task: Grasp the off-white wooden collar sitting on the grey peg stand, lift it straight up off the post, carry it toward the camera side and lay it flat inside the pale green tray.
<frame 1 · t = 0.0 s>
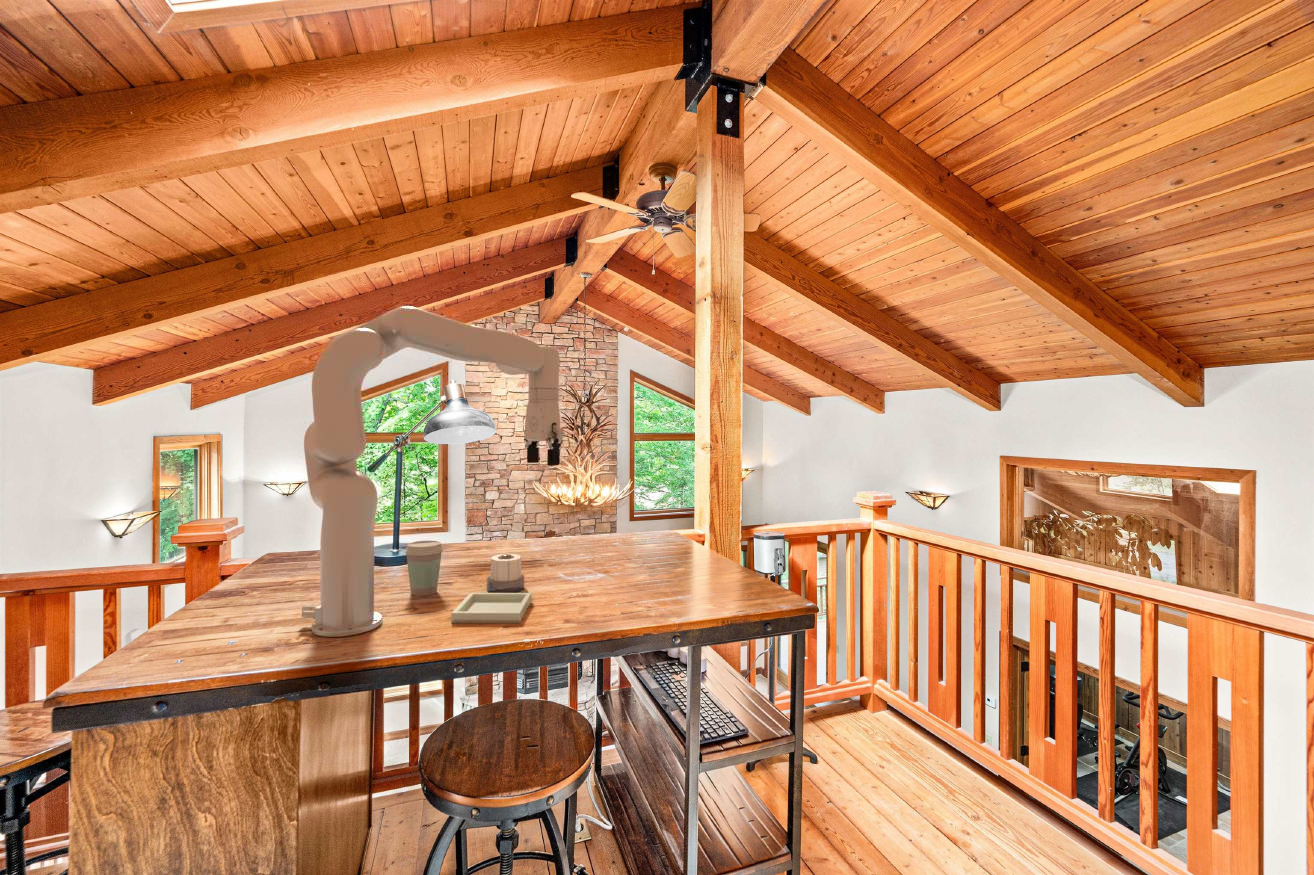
hand: (542, 463, 146), 31 cm above the table, tool pointing down, fingers open, 9 cm apart
grey peg stand: (505, 589, 144), on the table
coffee cup: (423, 593, 140), on the table
collar: (505, 577, 144), point 3 cm above the table, touching grey peg stand
tray: (493, 611, 127), on the table
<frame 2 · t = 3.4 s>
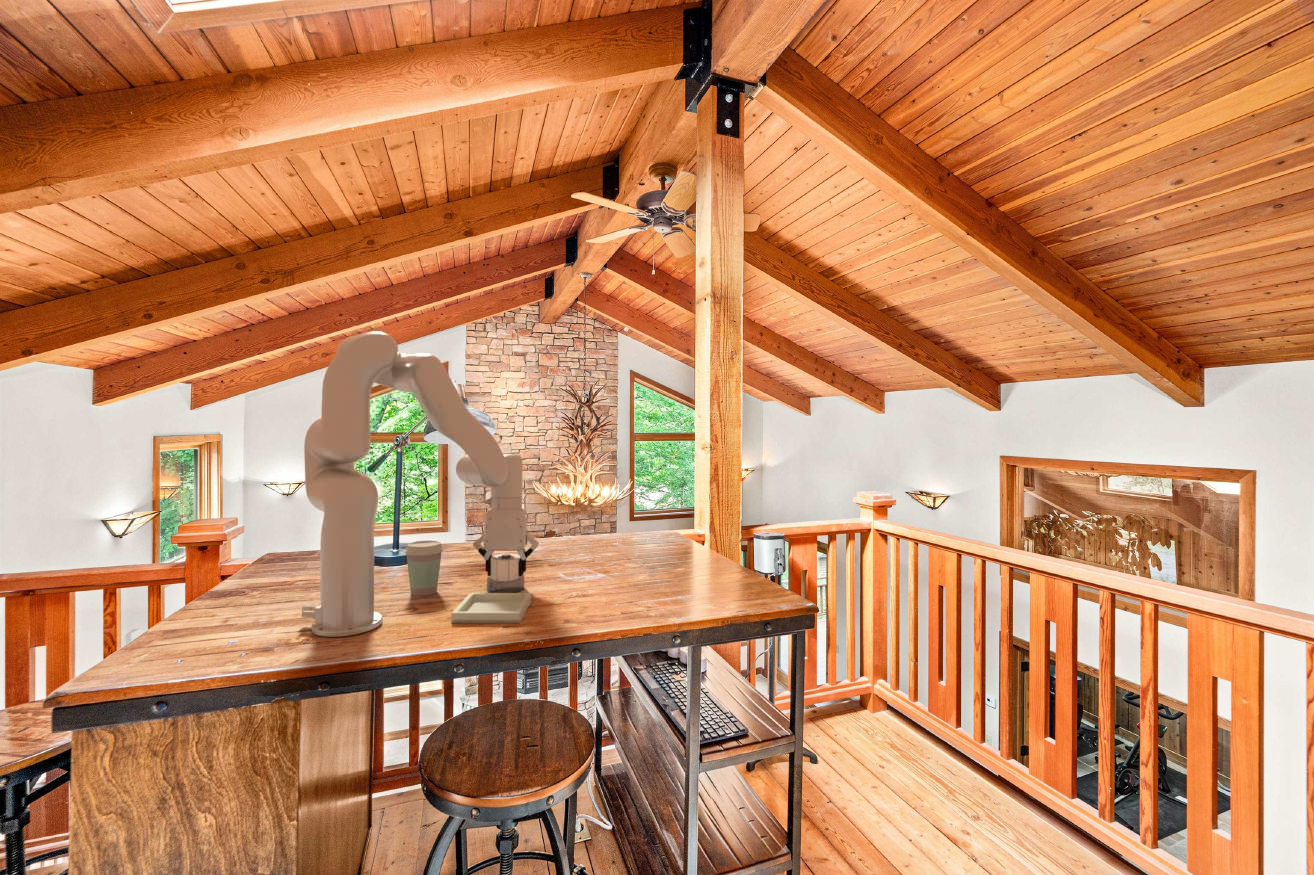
hand: (505, 574, 143), 4 cm above the table, tool pointing down, fingers closed on collar, 7 cm apart
collar: (505, 577, 144), point 3 cm above the table, touching gripper, grey peg stand
everything else where it was.
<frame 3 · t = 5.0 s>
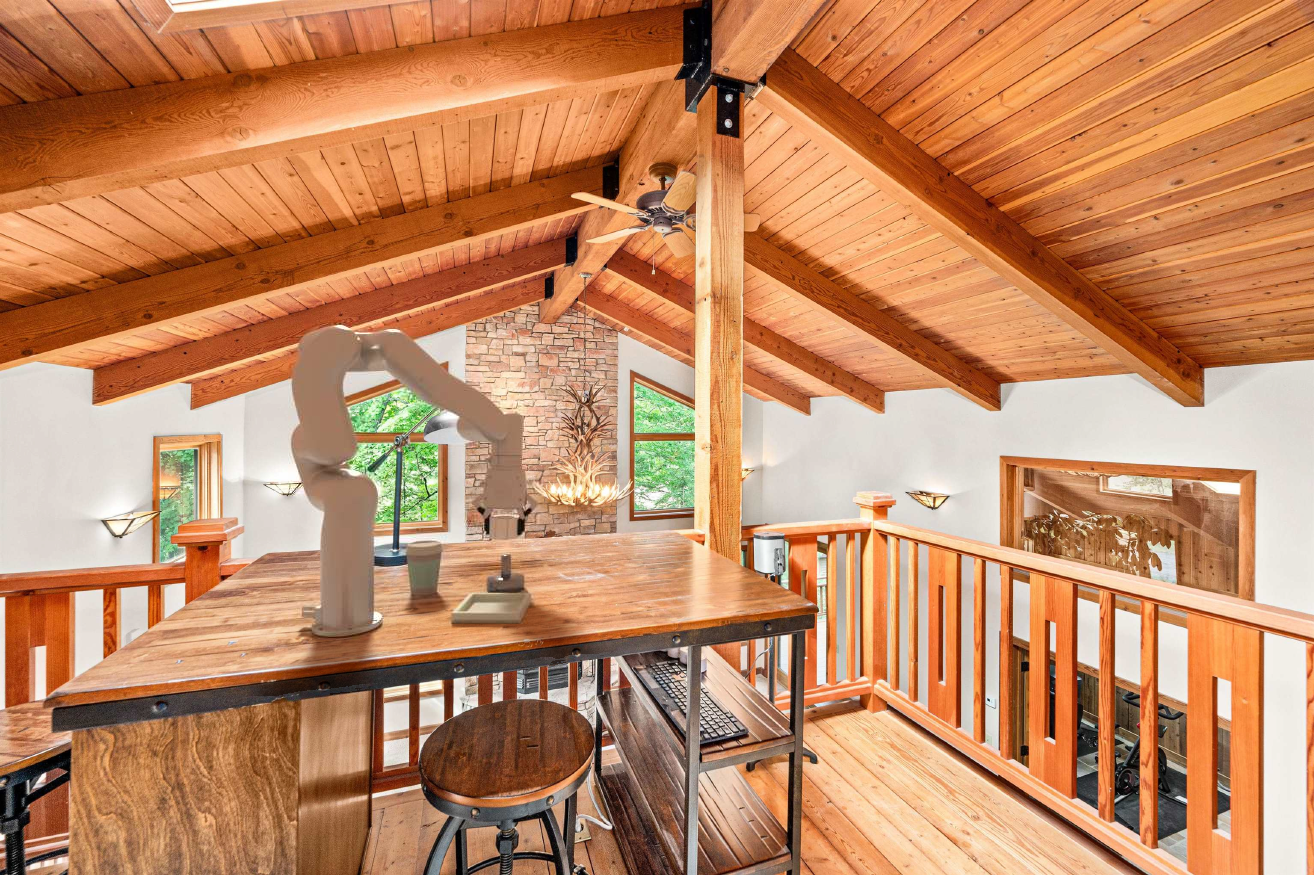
hand: (504, 533, 143), 14 cm above the table, tool pointing down, fingers closed on collar, 7 cm apart
collar: (504, 536, 143), point 13 cm above the table, touching gripper
everything else where it was.
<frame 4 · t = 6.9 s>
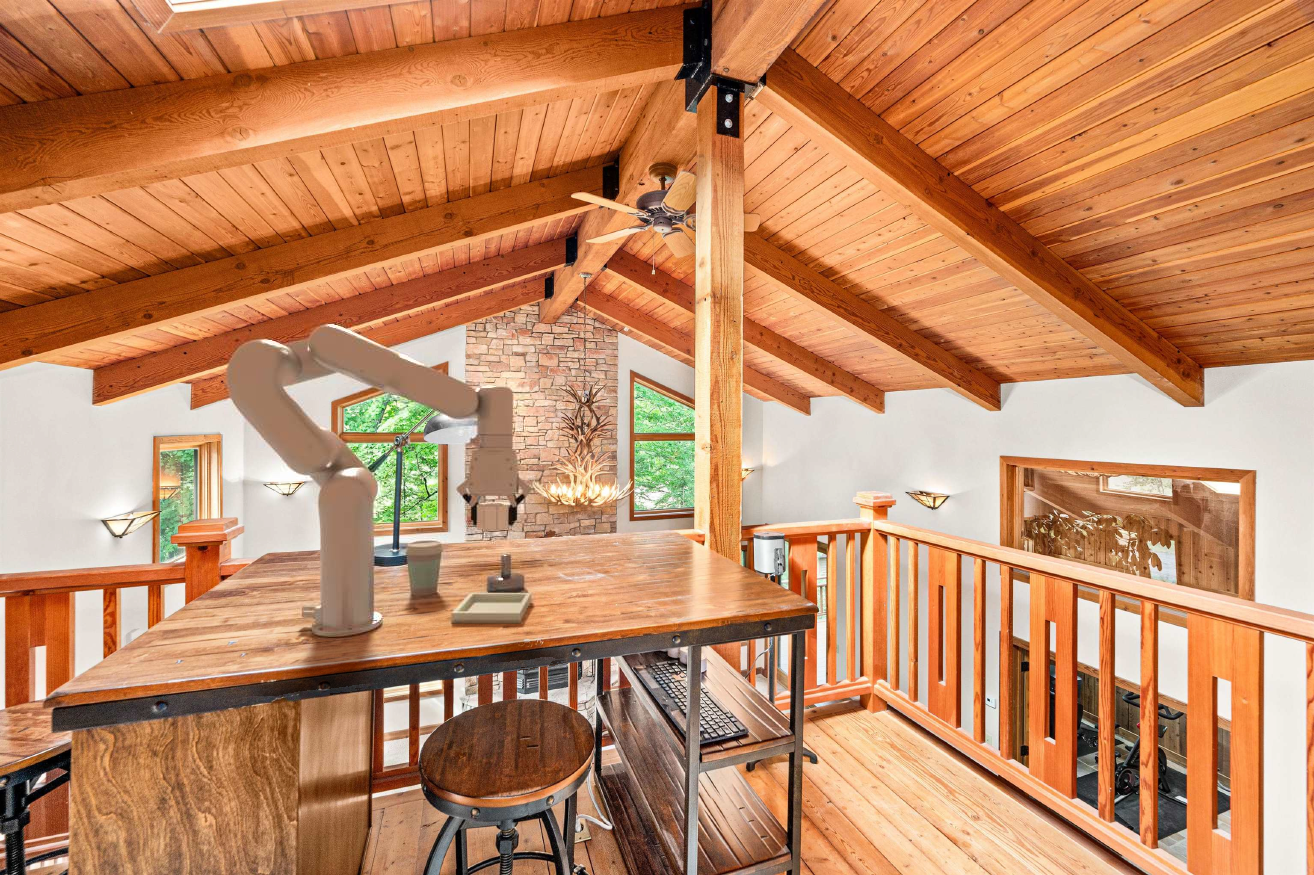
hand: (494, 523, 126), 20 cm above the table, tool pointing down, fingers closed on collar, 7 cm apart
collar: (494, 527, 126), point 19 cm above the table, touching gripper
everything else where it was.
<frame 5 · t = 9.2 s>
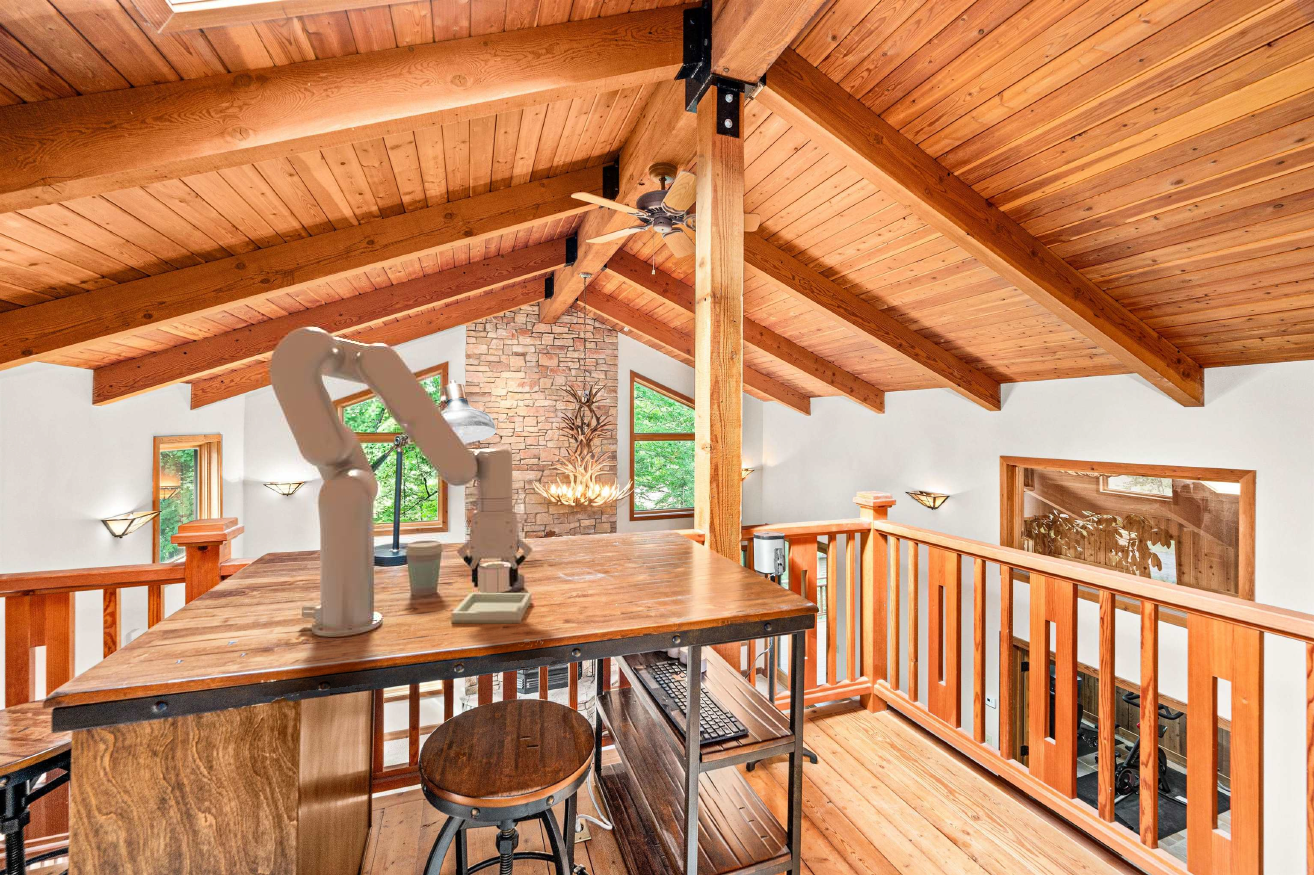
hand: (495, 584, 127), 6 cm above the table, tool pointing down, fingers closed on collar, 7 cm apart
collar: (495, 588, 127), point 5 cm above the table, touching gripper
everything else where it was.
when the fingers open (3 cm above the table, at t = 10.8 s): collar drops 2 cm, resting on tray.
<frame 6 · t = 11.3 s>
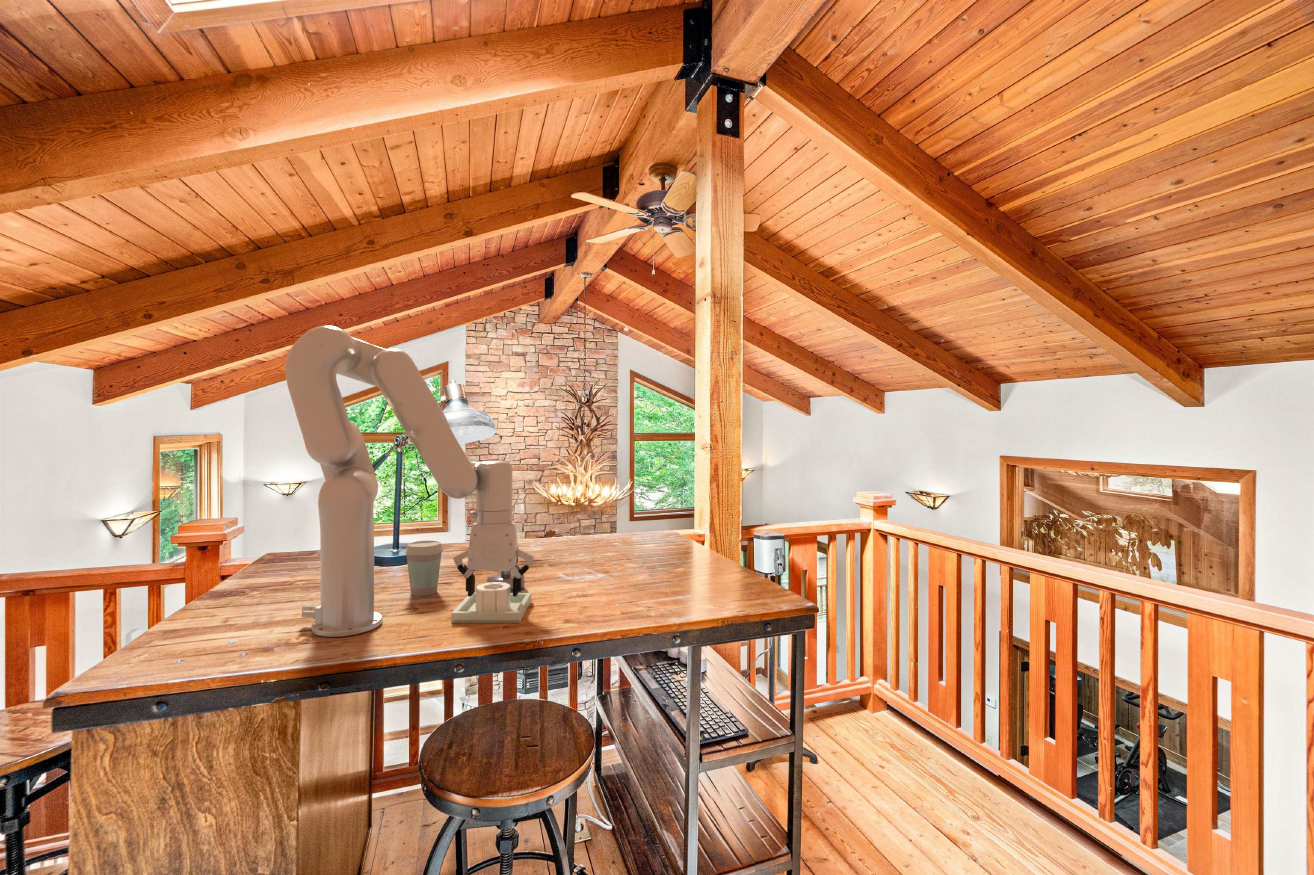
hand: (493, 594, 127), 4 cm above the table, tool pointing down, fingers open, 9 cm apart
collar: (493, 609, 127), point 1 cm above the table, touching tray
everything else where it was.
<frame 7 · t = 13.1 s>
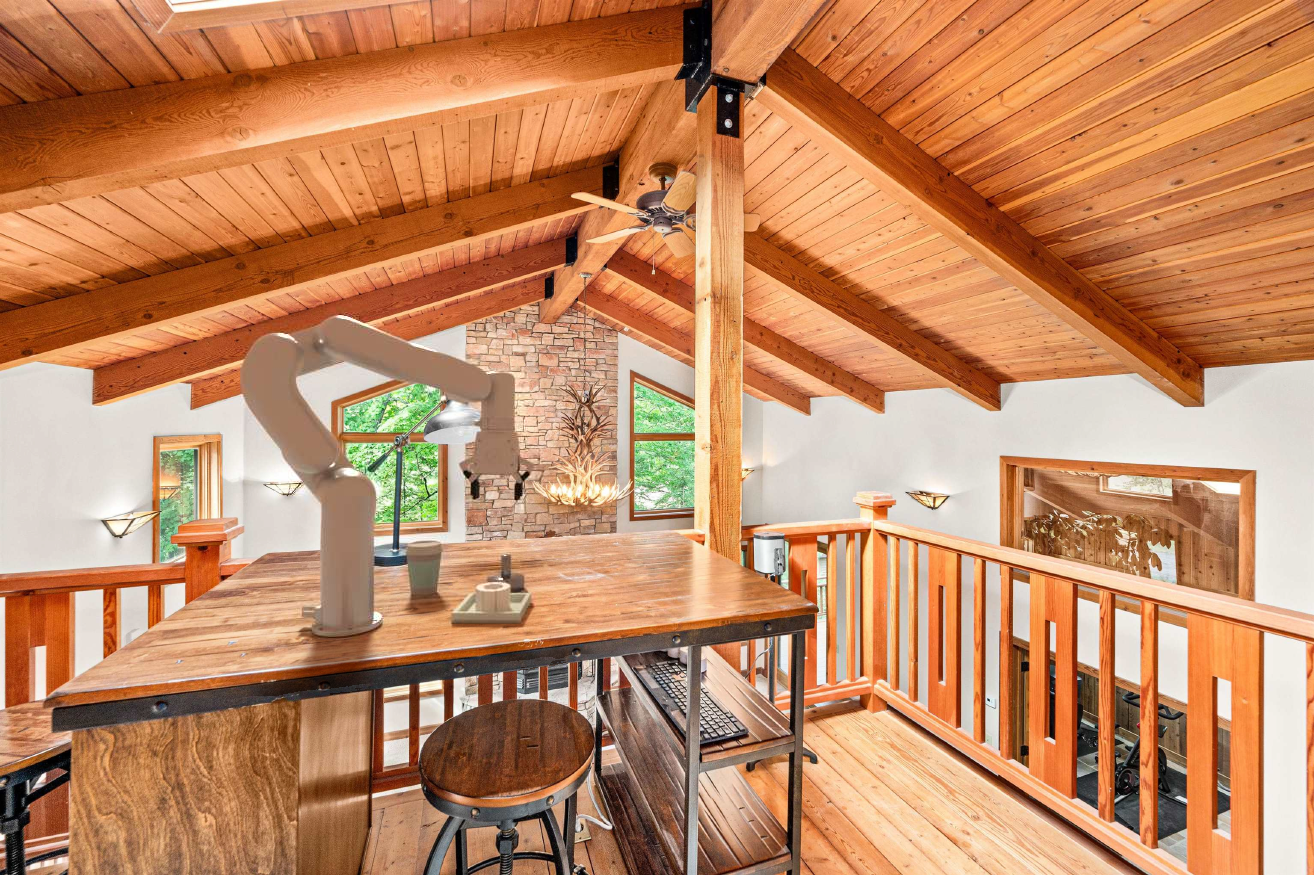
hand: (496, 499, 134), 24 cm above the table, tool pointing down, fingers open, 9 cm apart
nothing on the table moved.
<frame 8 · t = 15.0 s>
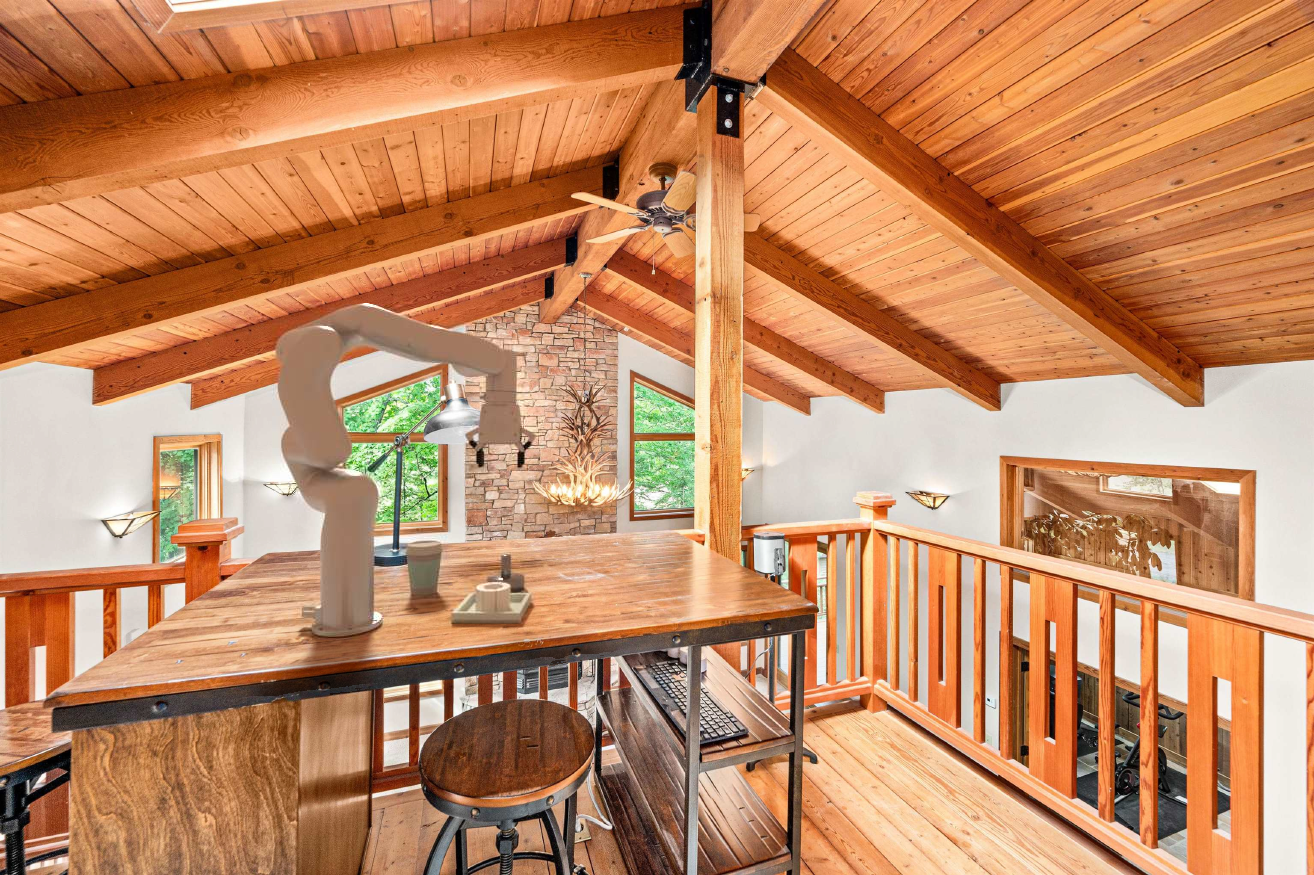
hand: (500, 467, 145), 30 cm above the table, tool pointing down, fingers open, 9 cm apart
nothing on the table moved.
at the end: collar inside the target area on the tray (0.1 cm from its centre), point 0.6 cm above the tray's base; collar tilted 0°; the gripper is holding nothing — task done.
